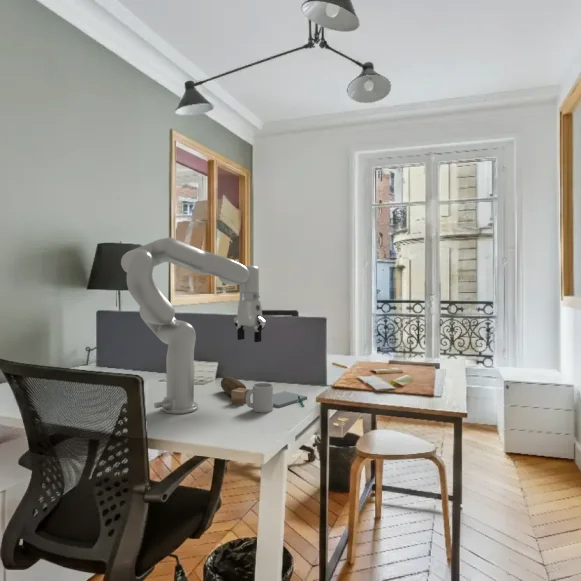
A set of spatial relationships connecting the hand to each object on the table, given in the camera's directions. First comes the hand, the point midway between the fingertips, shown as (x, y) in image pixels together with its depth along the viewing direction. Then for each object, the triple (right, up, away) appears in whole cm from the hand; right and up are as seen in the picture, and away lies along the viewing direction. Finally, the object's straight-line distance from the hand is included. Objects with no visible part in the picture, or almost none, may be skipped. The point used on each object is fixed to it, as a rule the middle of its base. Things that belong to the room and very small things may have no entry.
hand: (249, 340), depth 180 cm
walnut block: (-2, -23, -8) cm, 24 cm away
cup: (+5, -23, -17) cm, 29 cm away
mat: (+13, -23, -4) cm, 26 cm away
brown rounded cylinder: (-7, -23, +4) cm, 24 cm away
